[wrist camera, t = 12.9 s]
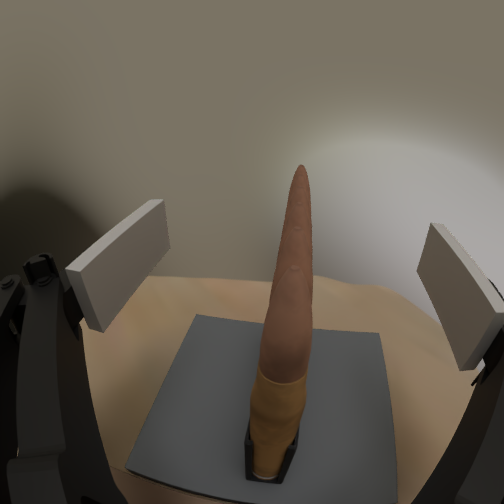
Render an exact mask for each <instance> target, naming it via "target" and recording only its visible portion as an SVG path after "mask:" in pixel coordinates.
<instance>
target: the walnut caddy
mask: <svg viewBox="0 0 504 504" xmlns="http://www.w3.org/2000/svg"><path fill="white" fill-rule="evenodd" d="M110 470H111V473H112V476H113V479H114V481H115V484H116V486H117V487H118V489H119V490H120V491H121V493H122V494H123V495H124V497H125V498H126V500H127V502H128V504H224V503H219V502H215V501H210V500H206V499H202V498H198V497H194V496H191V495H187V494H183V493H180V492H177V491H173V490H170V489H167V488H164V487H161V486H158V485H155V484H153V483H150V482H147V481H145V480H142V479H139V478H137V477H134V476H132V475H129V474H127V473H125V472H122V471H120V470H118V469H116V468H113V467H111V466H110Z"/></svg>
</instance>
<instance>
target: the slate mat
mask: <svg viewBox="0 0 504 504" xmlns="http://www.w3.org/2000/svg"><path fill="white" fill-rule="evenodd" d="M263 328H264V324H262V323H254V322H246V321H239V320H231V319H224V318H217V317H211V316H204V315H198V314H196V316H195V318H194V320H193V322H192V324H191V326H190V328H189V330H188V332H187V334H186V336H185V338H184V340H183V342H182V344H181V346H180V349H179V351H178V353H177V355H176V357H175V359H174V361H173V363H172V365H171V367H170V369H169V371H168V374H167V376H166V378H165V380H164V382H163V384H162V386H161V388H160V390H159V393H158V395H157V397H156V399H155V401H154V403H153V405H152V408H151V410H150V412H149V414H148V416H147V418H146V421H145V423H144V425H143V427H142V429H141V432H140V434H139V436H138V438H137V440H136V443H135V445H134V447H133V449H132V451H131V454H130V456H129V458H128V460H127V463H126V465H125V468H126V469H127V470H128V471H130V472H131V473H134V474H136V475H139V476H141V477H144V478H146V479H149V480H152V481H155V482H158V483H160V484H163V485H166V486H170V487H173V488H176V489H179V490H183V491H186V492H190V493H193V494H197V495H201V496H205V497H209V498H214V499H218V500H223V501H228V502H233V503H239V504H395V503H398V495H397V463H396V447H395V435H394V425H393V416H392V407H391V400H390V392H389V386H388V379H387V373H386V367H385V361H384V355H383V350H382V345H381V340H380V335H379V333H368V332H350V331H335V330H322V329H312V344H311V352H310V358H309V362H308V373H307V379H306V392H307V395H306V404H305V408H304V411H303V414H302V418H301V421H300V428H299V437H298V446H297V450H296V452H295V455H294V457H293V460H292V462H291V464H290V467H289V469H288V471H287V474H286V476H285V478H284V481H283V483H282V484H274V483H265V482H257V481H250V480H246V477H245V451H244V440H245V436H246V431H247V427H248V422H249V418H250V396H251V391H252V387H253V384H254V382H255V380H256V376H257V367H258V361H259V356H260V343H261V338H262V333H263Z"/></svg>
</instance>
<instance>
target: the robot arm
mask: <svg viewBox="0 0 504 504" xmlns="http://www.w3.org/2000/svg"><path fill="white" fill-rule="evenodd" d="M169 249H170V243H169V236H168V228H167V221H166V213H165V204H164V200H160V199H159V200H158V199H151V200H149V201H148V202H147V203H145V204H144V205H143V206H141V207H140V208H139V209H137V210H136V211H134V212H133V213H132V214H130V215H129V216H128V217H127V218H125V219H124V220H123V221H121V222H120V223H119V224H118V225H116V226H115V227H114V228H113V229H111V230H110V231H109V232H107V233H106V234H105V235H104V236H103V237H101V238H100V239H99V240H98V241H96V243H94V244H93V245H91V246H89V247H88V248H87V249H86V250H84V251H83V253H82V254H80V255H79V256H77V258H76V259H74V260H73V261H72V262H71V263H70V264H68V265H67V266H66V267H65V268H64V269H63V270H62V271H61V272H59V273H58V270H57V268H56V265H55V262H54V259H53V256H52V254H51V253H40V254H37V255H35V256H33V257H31V258H30V259H28V260H27V261H26V262H25V263H24V265H23V268H24V271H25V274H26V276H27V278H28V281H29V283H30V285H23V283H22V280H21V278H20V276H19V275H11V276H10V275H9V276H7V277H5V278H4V279H3V280H2V281H0V504H128V502H127V500H126V498H125V497H124V495H123V494H122V493H121V491H120V490H119V489H118V487H117V486H116V484H115V481H114V479H113V476H112V473H111V470H110V467H109V464H108V461H107V458H106V454H105V451H104V448H103V444H102V440H101V437H100V433H99V429H98V425H97V421H96V417H95V412H94V407H93V403H92V398H91V392H90V387H89V381H88V375H87V368H86V361H85V353H84V345H83V335H82V329H81V326H80V324H79V322H80V321H81V320H82V318H83V317H84V318H85V321H86V323H87V325H88V327H89V329H92V330H96V331H99V332H102V333H104V332H105V330H106V329H107V327H108V326H109V325H110V323H111V322H112V321H113V319H114V318H115V317H116V315H117V314H118V313H119V311H120V310H121V309H122V308H123V306H124V305H125V304H126V302H127V301H128V300H129V298H130V297H131V296H132V295H133V293H134V292H135V291H136V290H137V288H138V287H139V286H140V284H141V283H142V282H143V281H144V279H145V278H146V277H147V276H148V274H149V273H150V272H151V271H152V270H153V268H154V267H155V266H156V265H157V263H158V262H159V261H160V260H161V258H162V257H163V256H164V255H165V254H166V253H167V251H168V250H169ZM417 273H418V275H419V277H420V279H421V281H422V282H423V285H424V287H425V289H426V291H427V293H428V295H429V297H430V299H431V301H432V304H433V305H434V308H435V310H436V312H437V315H438V317H439V319H440V321H441V324H442V326H443V329H444V331H445V333H446V336H447V338H448V341H449V343H450V346H451V349H452V351H453V354H454V357H455V359H456V362H457V365H458V368H459V370H460V371H466V370H474V369H475V368H476V367H477V365H478V364H479V362H480V361H481V360H482V358H483V360H484V363H485V367H484V368H483V369H482V371H481V372H480V373H479V375H478V376H477V377H476V379H475V380H474V381H473V382H472V384H471V386H473V385H474V384H475V383H477V384H476V386H475V389H474V391H473V394H472V396H471V399H470V401H469V404H468V406H467V408H466V411H465V413H464V415H463V417H462V419H461V422H460V424H459V426H458V428H457V430H456V432H455V434H454V436H453V438H452V440H451V442H450V443H449V445H448V447H447V449H446V451H445V453H444V454H443V456H442V458H441V460H440V461H439V463H438V465H437V466H436V468H435V469H434V471H433V473H432V474H431V476H430V477H429V479H428V480H427V482H426V483H425V485H424V486H423V488H422V489H421V491H420V492H419V494H418V495H417V496H416V498H415V499H414V500H413V502H412V503H411V504H500V503H501V504H504V299H503V297H502V295H501V294H500V292H498V290H497V288H496V287H495V285H494V284H493V283H492V282H491V281H490V280H489V279H488V278H487V277H486V276H485V275H484V273H483V272H482V271H481V269H480V268H479V267H478V265H477V264H476V263H475V261H474V260H473V259H472V258H471V257H470V255H469V254H468V253H467V252H466V251H465V249H464V248H463V247H462V246H461V244H460V243H459V242H458V241H457V240H456V239H455V237H454V236H453V235H452V234H451V233H450V232H449V231H448V230H447V228H446V227H445V226H444V225H443V224H437V223H430V227H429V231H428V234H427V238H426V242H425V245H424V249H423V252H422V256H421V259H420V262H419V265H418V268H417ZM10 320H11V322H12V323H13V325H14V327H15V329H16V330H15V332H14V334H13V333H12V331H11V329H10V328H9V321H10ZM18 450H19V451H18ZM17 451H18V456H17Z"/></svg>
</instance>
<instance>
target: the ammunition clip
mask: <svg viewBox="0 0 504 504" xmlns="http://www.w3.org/2000/svg"><path fill="white" fill-rule="evenodd" d="M312 293H313V273H312V224H311V201H310V187H309V181H308V176H307V172H306V170H305V167H304V166H303V165H300V166H299V167H298V168H297V170H296V172H295V174H294V177H293V180H292V184H291V187H290V192H289V197H288V203H287V208H286V214H285V220H284V225H283V231H282V237H281V242H280V247H279V252H278V258H277V264H276V269H275V273H274V279H273V283H272V289H271V294H270V303H269V308H268V311H267V314H266V318H265V323H264V328H263V333H262V338H261V343H260V356H259V361H258V367H257V376H256V380H255V382H254V384H253V387H252V391H251V396H250V418H249V422H248V427H247V431H246V436H245V440H244V451H245V477H246V480H250V481H257V482H265V483H274V484H282V483H283V481H284V478H285V476H286V474H287V471H288V469H289V467H290V464H291V462H292V460H293V457H294V455H295V452H296V450H297V446H298V437H299V428H300V421H301V418H302V414H303V411H304V408H305V404H306V395H307V392H306V379H307V373H308V362H309V358H310V352H311V344H312V307H311V306H312Z"/></svg>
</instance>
